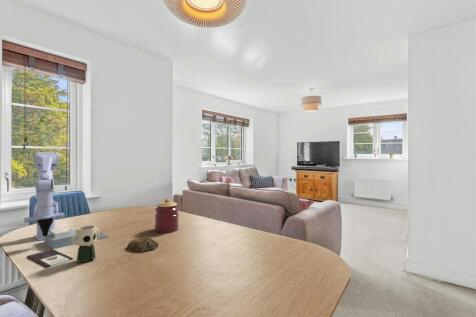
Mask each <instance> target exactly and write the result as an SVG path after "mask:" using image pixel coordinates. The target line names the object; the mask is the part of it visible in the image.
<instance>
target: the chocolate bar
mask: <svg viewBox="0 0 476 317" xmlns="http://www.w3.org/2000/svg"><path fill="white" fill-rule="evenodd" d="M26 258H28V259H29V260H30V261H33V262H34V263H37V265H38V264H39V265H40V266H43V267H44V268H46V269H48V268H51V267H53V266H57V265H60V264H62V263H67V262H69V261H72V260H74V257H71V256H68V255H67V254H64V253H62V252H60V251H57V250H55V249H52V248H51V249H48V250H44V251H40V252H36V253H33V254H29V255H26Z"/></svg>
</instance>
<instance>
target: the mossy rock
mask: <svg viewBox="0 0 476 317" xmlns="http://www.w3.org/2000/svg"><path fill="white" fill-rule="evenodd" d="M158 246H159V243H158V242H157V241H156V240H154V239H152V238H150V237H148V236H147V237H146V236H141V237H137V238H134V239H132V240H131V241H129V243H128V244H127V247H126V248H127V249H128V251H131V252H136V253H144V252H147V251H155V250H156V249H157V247H158Z"/></svg>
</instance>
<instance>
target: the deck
mask: <svg viewBox="0 0 476 317" xmlns="http://www.w3.org/2000/svg"><path fill="white" fill-rule="evenodd" d="M67 229H68V230H70V235H68V236H63V237H59V238H54V237H53V236H51V235H50V233H48V235H47V236H44V243H45V244H46V245H47V246H48V247H49V248H51V249H53V250H55V249H56V250H57V249H60V248H64V246H65V247H67V246H72V245H76V243H75V244H72V236H73V235H76V230H73V229H72V228H67ZM75 241H76V237H75Z"/></svg>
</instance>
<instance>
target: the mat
mask: <svg viewBox="0 0 476 317" xmlns="http://www.w3.org/2000/svg"><path fill="white" fill-rule="evenodd" d="M109 237H110V236H109V235H107V234H105V233H103V232H101V231H100V235H99V236H98V237H97V240H101V239H105V238H109ZM97 240H96V241H97Z"/></svg>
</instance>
